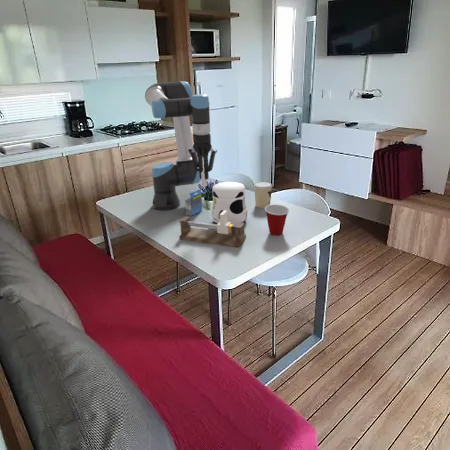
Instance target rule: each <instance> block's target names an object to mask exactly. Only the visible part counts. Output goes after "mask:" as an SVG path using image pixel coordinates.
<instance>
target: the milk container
mask: <svg viewBox="0 0 450 450" xmlns="http://www.w3.org/2000/svg"><path fill="white" fill-rule="evenodd" d="M211 191H212V209H211V217H212V220H213V222H214V223H215V224H218V223H219V222H220V214H221V213H222V212H223V211H224V210H225V211H227V216H228V222H231V223H232V224H234V223H237V224H238V223H244V222H245V221H246V220H247V217H248V207H247V205H246V187H245V185H244V184H243V183H241V182H238V181H237V182H236V181H224V182H219V183H216V184H214V185H213V186H212V190H211Z"/></svg>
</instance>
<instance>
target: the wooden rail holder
mask: <svg viewBox="0 0 450 450" xmlns="http://www.w3.org/2000/svg"><path fill="white" fill-rule="evenodd" d="M190 218H191V216H184V217H182V218H181V219H180V220H179V226H180V233H181V234H180V235H179V236H178V237H179V240H182V241H188V242H196V243H203V244H204V243H205V244H211V245H218V246H227V247H231V248H232V247H233V248H240V246H241V245H242V244H243V243H244V242H245V239H246V238H247V234H245V223H244V222H243V223H238V224H237V226H236V227H235V234H232V233H229V234H222V233H217V230H215V229H207V228H199V227H198V228H197V227H196V228H195V227H192V226H187V222H188V221H191V219H190Z"/></svg>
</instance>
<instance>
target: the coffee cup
mask: <svg viewBox="0 0 450 450" xmlns="http://www.w3.org/2000/svg"><path fill="white" fill-rule="evenodd" d="M253 187H254V188H253V190H254V200H255V207H256V208H258V209H265V207H266V206H268V205H271V199H272V198H271V197H272V188H273V186H272V183H271V182H267V181H260V182H256V183H254V186H253Z"/></svg>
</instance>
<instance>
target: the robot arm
mask: <svg viewBox="0 0 450 450" xmlns="http://www.w3.org/2000/svg"><path fill="white" fill-rule="evenodd" d="M144 99H145V101H146V103H147V104H148V105H149V106H151V112H152V116H153V118H155V119H169V118H172V120H173V127H174V135H175V143H176V150H177V151H176V152H177V159H176V160H175V164H174V163H173V162H172V161H168V162H160V163H157V164H155V165H154V166H153V167H152V168H151V177H152V185H153V191H154V192H153V193H154V194H153V197H152V207H154V208H153V209H155V210H157V209H159V211H167V210H168V209H169V210H173V209H176V208H178V207H180V206H181V200H180V198H179V195H178V193H177V191H176V187H180V186H189V185H190V186H191V185H196V184H199V183H201V187H204V188H205V187H207V186H208V179H209V177H210V175H209V172H211V171H212V170H213V168H214V163H215V156H216V154H217V152H218V149H214V148H213V146H212V136H211V133H210V132H211V119H210V118H211V117H210V115H211V114H210V100H209V99H210V98H209V95H208V94H202V93H200V94H193V90H192V88H191V85H190V83H189V82H187V81H183V80H182V81H181V80H178V81H176V80H175V81H165V82H164V81H163V82H161V81H160V82H157V83H154V84H151V85H150V86H149V87H148V88H147V89H146V91H145V95H144ZM190 117H191V121H190ZM191 127H192V129H191ZM191 130H192V131H191ZM192 133H193V135H192ZM209 153H210V157H209ZM169 210H168V211H169Z"/></svg>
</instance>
